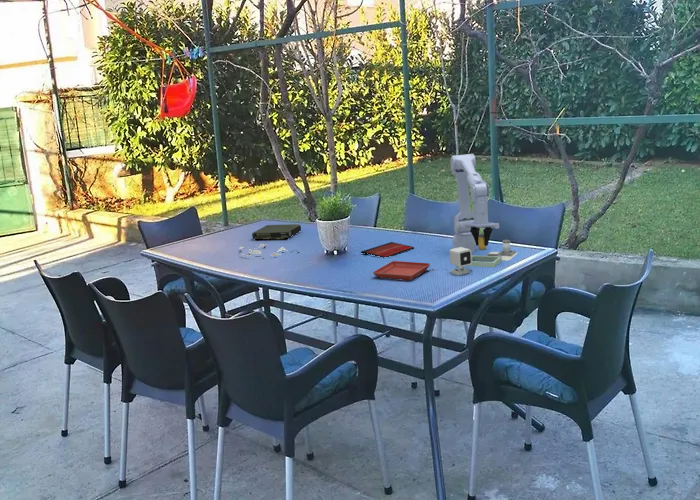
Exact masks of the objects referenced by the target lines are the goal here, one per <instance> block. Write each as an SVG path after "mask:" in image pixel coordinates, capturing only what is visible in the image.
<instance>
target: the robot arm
mask: <svg viewBox="0 0 700 500" xmlns="http://www.w3.org/2000/svg"><path fill="white" fill-rule="evenodd" d="M476 163H477V162H476V156H475V154H474V153H469V154H467V153H465V154H458V155H454V154H453V155H452V156H451V157H450V170H451V174H452V175H454V176H455V179H456V188H457V189H456V190H457V197H458V208H459V212H458V213H457V214H456V215H455V216H454V217H453V218H454V219H453V227H454V229H453V230H454V233H455V234H453V237H452V249H454V248H459V247H463V248H467V249H470V250H471V251H472V253H474V252H476V247H478V235H480V229H483V230H482V231H483V234H484V237H485V246H486V247H487V246H488V245H489V241H490V237H491V235H492V232H493V230H494V229H497V230H498V229H500V223H499V222H491V221H489V210H488V206H489V205H488V197H489V194H490V186H489V184H488V183H487V181H484V180H483V178H482V177H481V174H480V173H479V172H477V171H476V169H475V167H476ZM469 188H470V192H469ZM470 194H471V195H470ZM470 196H471V202H472V207H473V208H472V209H473V212H472V211H471V203H470Z"/></svg>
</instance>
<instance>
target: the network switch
mask: <svg viewBox="0 0 700 500" xmlns="http://www.w3.org/2000/svg"><path fill="white" fill-rule="evenodd" d="M299 231H301V232H302V226H301V225H300V224H298V223H297V224H296V223H295V224H291V223H290V224H289V223H288V224H266V225H264V226H263V227H261V228H259V229H257V230H256V231H253V232H252V233H251V235H252V236H251V237H252V240H253V239H268V240H269V239H271V240H272V239H274V240H275V239H276V240H286V239H285V238H289V237H291V236H292V235H294V234H296V233H298V232H299ZM298 234H299V233H298ZM296 235H297V234H296ZM294 236H295V235H294ZM291 238H292V237H291Z"/></svg>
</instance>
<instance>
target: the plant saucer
mask: <svg viewBox="0 0 700 500" xmlns="http://www.w3.org/2000/svg"><path fill="white" fill-rule="evenodd" d="M430 265H431V263H428V262H414V261H401V260H400V261H399V260H391V262H388V263H387V264H385V265H383V266H381V267H380V268H377V269H376V270H373V271H372V274H373V275H374V276H375V277H377V278H378V277H382V278H381V279H383V278H391V279H390V280H395V279H402V280H401V281H407V280H410V281H412V280H413V278H414V279H416V278H417V277H418V276H419V275H422V274H423V273H425V272H426V271H427V269H429V267H430Z"/></svg>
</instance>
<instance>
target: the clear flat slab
mask: <svg viewBox="0 0 700 500" xmlns="http://www.w3.org/2000/svg"><path fill="white" fill-rule="evenodd" d="M259 245H260V246H259V247H258V248H260V247H264V246H265V245H266V244H264V242H263V243H260V244H259ZM242 248H244V247H243V246H239V249H242ZM282 250H284V251H287V249H286V248H285V247H283V246H281V247H280V248H279V249H277V251H276V252H279V251H282ZM248 252H249V253H252V254H262V251H261V250H253V252H252V250H251V249H249V251H248ZM276 252H274V251H273V252H272V254H270V255H271V256H278V255H281V254H278V253H276ZM282 252H283V251H282ZM242 255H244V254H242ZM245 256H251V255H249V254H248V255H245Z"/></svg>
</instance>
